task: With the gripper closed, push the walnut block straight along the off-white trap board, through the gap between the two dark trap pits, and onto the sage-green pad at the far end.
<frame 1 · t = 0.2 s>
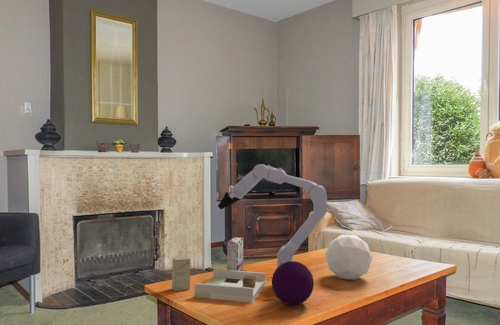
hand: (221, 206, 178), 31 cm above the table, tool tilted 45°, fingers open, 7 cm apart
candy bar box: (235, 277, 183), on the table
geometric orb: (348, 278, 183), on the table
skincare box: (180, 289, 165), on the table
trap board: (231, 290, 163), on the table
toy ball: (292, 304, 150), on the table
walnut block: (249, 287, 162), point 2 cm above the table, touching trap board
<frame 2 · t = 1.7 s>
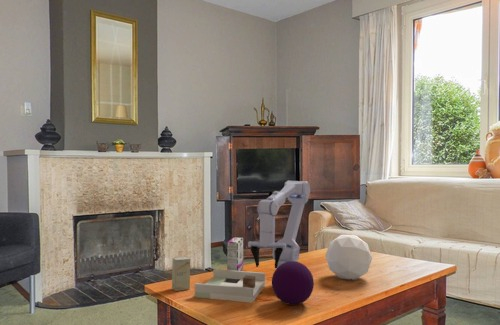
hand: (266, 267, 160), 10 cm above the table, tool pointing down, fingers open, 7 cm apart
nothing on the table moved.
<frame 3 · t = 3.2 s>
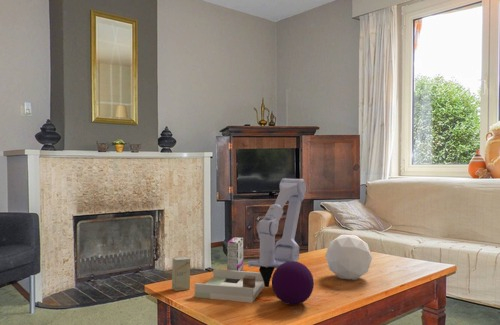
hand: (266, 286, 160), 3 cm above the table, tool pointing down, fingers closed
nothing on the table moved.
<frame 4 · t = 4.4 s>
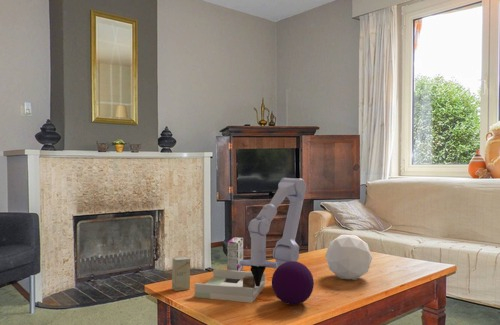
hand: (257, 285, 161), 3 cm above the table, tool pointing down, fingers closed
walnut block: (249, 287, 162), point 2 cm above the table, touching gripper, trap board
everything else where it was.
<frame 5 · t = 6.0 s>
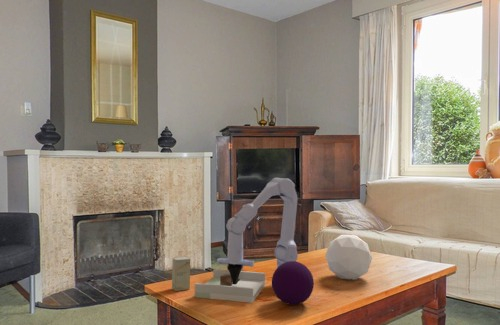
hand: (235, 283, 163), 3 cm above the table, tool pointing down, fingers closed
walnut block: (226, 285, 164), point 2 cm above the table, touching gripper
everything else where it was.
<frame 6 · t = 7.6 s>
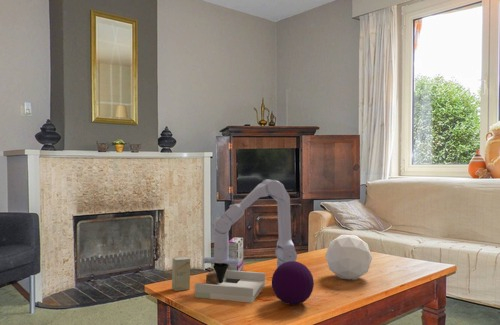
hand: (220, 282, 164), 3 cm above the table, tool pointing down, fingers closed
walnut block: (212, 284, 165), point 2 cm above the table, touching gripper, trap board
everything else where it was.
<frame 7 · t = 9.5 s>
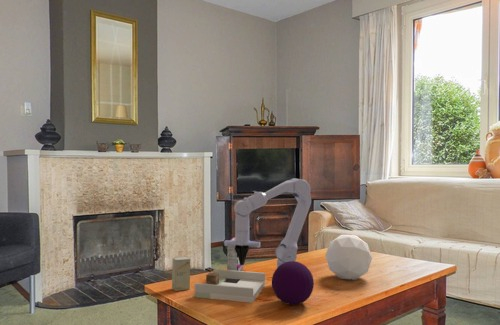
hand: (242, 264, 168), 9 cm above the table, tool pointing down, fingers closed
walnut block: (212, 284, 165), point 2 cm above the table, touching trap board
everything else where it was.
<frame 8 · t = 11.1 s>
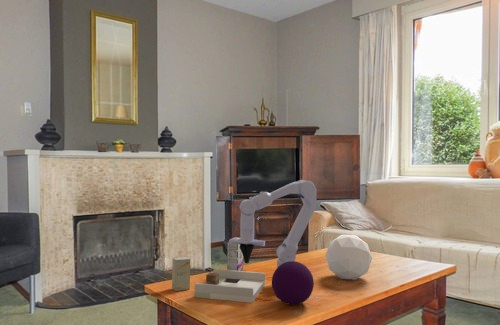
hand: (246, 262, 170), 9 cm above the table, tool pointing down, fingers closed
nothing on the table moved.
at the end: walnut block 0.3 cm from the target spot on the trap board, point 2.0 cm above the trap board's base; walnut block tilted 0° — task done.
